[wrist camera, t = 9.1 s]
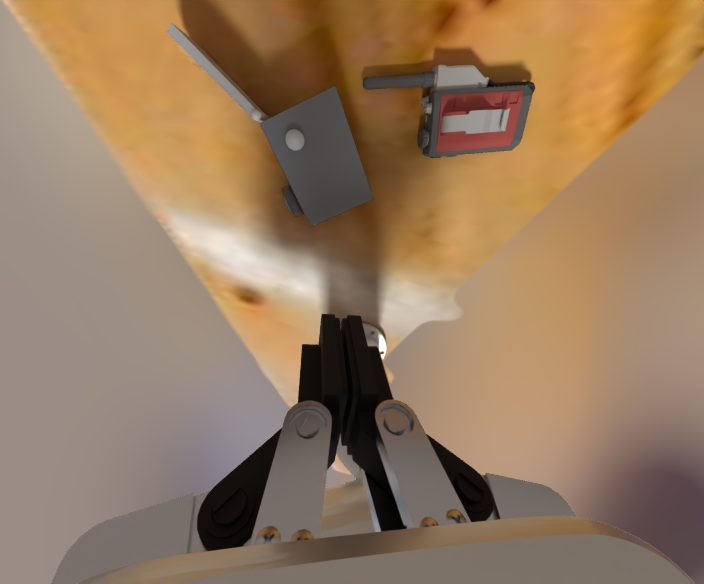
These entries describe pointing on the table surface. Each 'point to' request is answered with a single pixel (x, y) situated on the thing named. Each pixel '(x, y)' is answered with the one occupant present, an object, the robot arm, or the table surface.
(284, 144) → the camera body
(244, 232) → the table surface
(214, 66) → the side door
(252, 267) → the table surface
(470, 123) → the walkie-talkie
